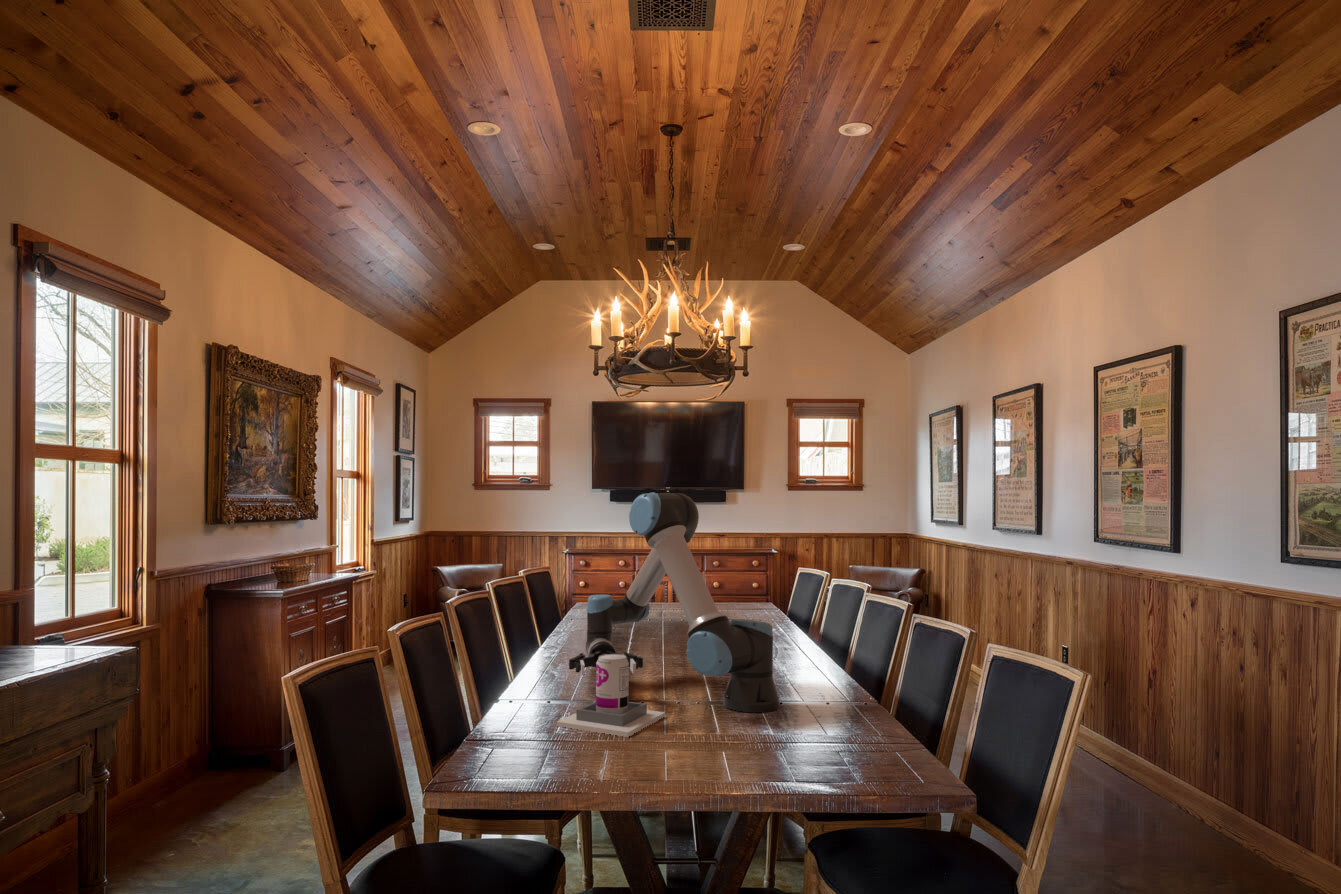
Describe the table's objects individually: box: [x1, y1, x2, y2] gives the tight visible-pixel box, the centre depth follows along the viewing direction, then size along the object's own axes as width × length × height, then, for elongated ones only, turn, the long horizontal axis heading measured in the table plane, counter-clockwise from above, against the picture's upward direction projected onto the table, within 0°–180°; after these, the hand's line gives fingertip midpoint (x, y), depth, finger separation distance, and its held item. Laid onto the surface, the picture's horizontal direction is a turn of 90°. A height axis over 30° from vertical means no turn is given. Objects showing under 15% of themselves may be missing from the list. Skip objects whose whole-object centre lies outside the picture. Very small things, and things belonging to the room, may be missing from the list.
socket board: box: [556, 700, 666, 738], centre depth 209 cm, size 20×20×4 cm
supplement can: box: [595, 653, 630, 715], centre depth 209 cm, size 8×8×15 cm
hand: (609, 669), depth 219 cm, fingers open, 13 cm apart
